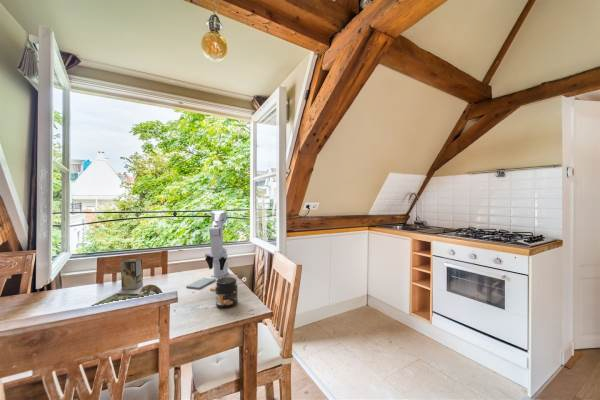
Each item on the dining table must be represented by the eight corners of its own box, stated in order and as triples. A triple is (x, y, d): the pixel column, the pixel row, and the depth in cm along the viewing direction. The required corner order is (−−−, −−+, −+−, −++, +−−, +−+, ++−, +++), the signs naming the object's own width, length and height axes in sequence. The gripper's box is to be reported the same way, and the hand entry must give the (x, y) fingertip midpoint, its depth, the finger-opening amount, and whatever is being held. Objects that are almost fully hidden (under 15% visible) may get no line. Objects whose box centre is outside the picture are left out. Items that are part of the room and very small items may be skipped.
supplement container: (213, 309, 118) (212, 284, 118) (218, 300, 128) (218, 277, 128) (235, 308, 119) (235, 283, 118) (239, 299, 129) (239, 276, 129)
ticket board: (203, 279, 160) (203, 277, 160) (215, 280, 158) (215, 278, 158) (186, 288, 146) (186, 285, 146) (199, 289, 143) (199, 287, 143)
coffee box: (143, 285, 152) (142, 258, 151) (136, 289, 145) (136, 261, 145) (128, 285, 151) (127, 259, 151) (120, 289, 145) (120, 261, 145)
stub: (225, 281, 155) (225, 273, 155) (233, 282, 154) (233, 274, 154) (210, 290, 141) (209, 281, 141) (218, 291, 139) (218, 282, 139)
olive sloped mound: (172, 282, 136) (146, 297, 116) (172, 296, 136) (146, 313, 116) (116, 280, 139) (81, 295, 119) (116, 294, 139) (82, 311, 119)
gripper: (201, 247, 149) (201, 270, 149) (222, 249, 145) (222, 272, 145) (208, 245, 156) (209, 266, 156) (229, 246, 151) (229, 268, 152)
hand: (216, 269), depth 151 cm, fingers open, 7 cm apart
